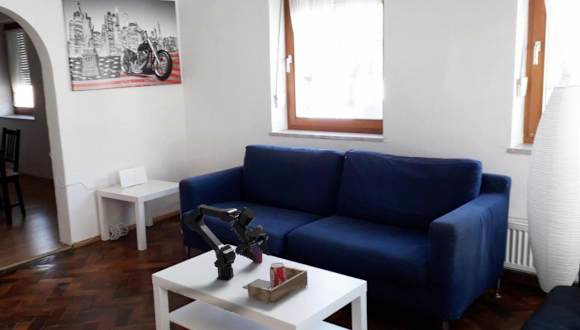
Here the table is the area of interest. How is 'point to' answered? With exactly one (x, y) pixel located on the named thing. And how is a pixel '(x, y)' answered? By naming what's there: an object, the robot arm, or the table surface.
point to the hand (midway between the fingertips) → (263, 258)
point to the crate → (279, 287)
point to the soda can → (277, 274)
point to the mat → (259, 283)
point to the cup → (257, 252)
